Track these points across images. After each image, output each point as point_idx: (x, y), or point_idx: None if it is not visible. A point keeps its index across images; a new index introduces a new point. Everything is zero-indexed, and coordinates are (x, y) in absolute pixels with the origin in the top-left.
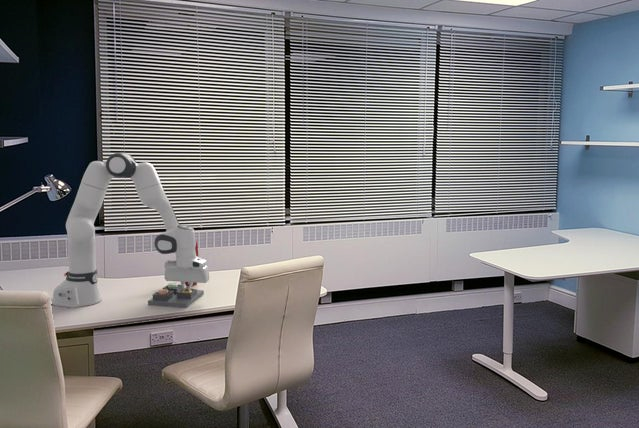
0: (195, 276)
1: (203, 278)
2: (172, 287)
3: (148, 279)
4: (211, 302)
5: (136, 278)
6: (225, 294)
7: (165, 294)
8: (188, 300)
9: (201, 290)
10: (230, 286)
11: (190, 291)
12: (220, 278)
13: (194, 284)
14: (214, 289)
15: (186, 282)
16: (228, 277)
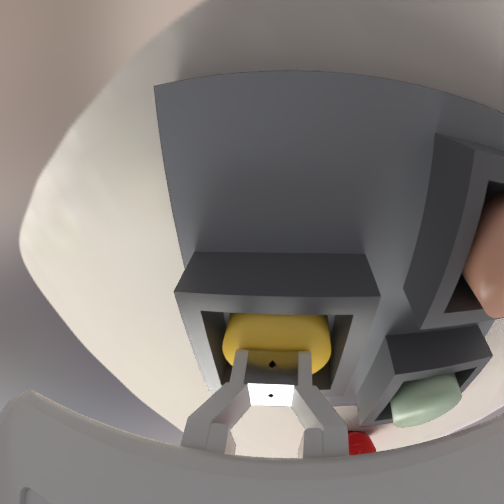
0: (78, 493)
1: (13, 429)
2: (429, 384)
3: (476, 415)
4: (92, 271)
5: (500, 406)
6: (130, 375)
7: (493, 213)
8: (189, 194)
9: None
10: (182, 428)
11: (234, 352)
12: None
13: None
14: None
15: (358, 441)
16: None
